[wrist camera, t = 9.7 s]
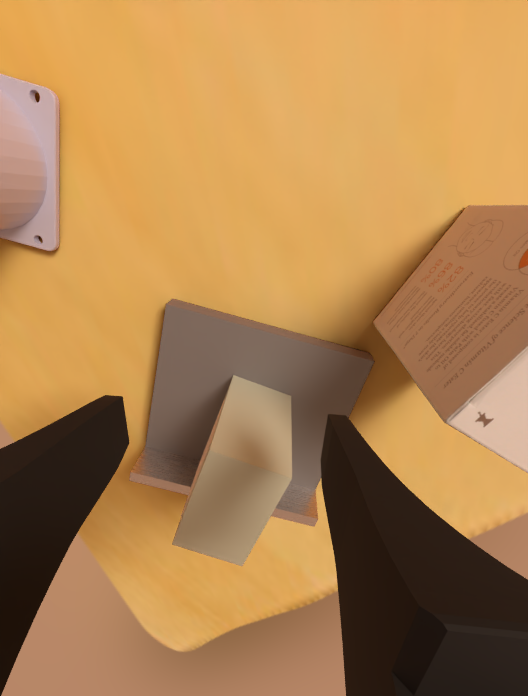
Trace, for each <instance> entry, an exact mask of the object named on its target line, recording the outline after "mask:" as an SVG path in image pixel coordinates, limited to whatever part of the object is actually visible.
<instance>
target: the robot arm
mask: <svg viewBox="0 0 528 696" xmlns="http://www.w3.org/2000/svg"><path fill="white" fill-rule="evenodd" d="M37 92H38V93H39V95H40V101H39V102H38V103H37V101H36V99H35V94H36V93H37ZM39 236H40V237H41V238H42V240H43V243H41V242H40V241H39V238H38V237H39ZM0 238H3V239H7V240H10V241H14V242H18V243H21V244H25V245H28V246H32V247H36V248H39V249H43V250H46V251H53V250H56V249H57V248H58V247H59V99H58V97H57V95H56V94H55V93H54V92H53V91H52V90H50V89H48V88H46V87H43V86H39V85H36V84H33V83H29V82H26V81H23V80H19V79H16V78H13V77H9V76H6V75H3V74H0ZM128 445H129V437H128V430H127V423H126V417H125V410H124V403H123V397H121V396H109V395H105V396H103V397H101V398H99V399H97V400H95V401H93V402H91V403H89V404H87V405H85V406H83V407H81V408H80V409H78V410H76V411H74V412H72V413H70V414H69V415H67V416H65V417H63V418H61V419H59V420H57V421H56V422H54V423H52V424H50V425H48V426H46V427H44V428H42V429H40V430H38V431H36V432H34V433H32V434H30V435H28V436H26V437H24V438H22V439H20V440H18V441H16V442H14V443H12V444H10V445H8V446H6V447H4V448H1V449H0V696H1V694H2V692H3V690H4V687H5V685H6V682H7V679H8V677H9V675H10V673H11V670H12V668H13V665H14V663H15V661H16V658H17V656H18V653H19V651H20V649H21V647H22V645H23V642H24V640H25V638H26V636H27V633H28V631H29V629H30V627H31V625H32V622H33V620H34V618H35V616H36V614H37V611H38V609H39V607H40V605H41V603H42V601H43V598H44V597H45V595H46V593H47V590H48V588H49V586H50V584H51V582H52V580H53V578H54V576H55V573H56V572H57V570H58V568H59V566H60V564H61V562H62V560H63V558H64V556H65V554H66V552H67V550H68V548H69V546H70V544H71V543H72V541H73V539H74V537H75V536H76V534H77V532H78V531H79V529H80V527H81V526H82V524H83V523H84V521H85V519H86V518H87V516H88V515H89V513H90V512H91V510H92V508H93V507H94V505H95V504H96V502H97V501H98V499H99V497H100V496H101V494H102V493H103V491H104V490H105V488H106V486H107V485H108V483H109V482H110V480H111V478H112V477H113V475H114V474H115V472H116V470H117V469H118V466H119V464H120V462H121V460H122V458H123V456H124V454H125V451H126V449H127V447H128ZM320 461H321V478H322V489H323V495H324V501H325V507H326V512H327V517H328V523H329V528H330V534H331V539H332V545H333V550H334V556H335V563H336V571H337V582H338V593H339V604H340V616H341V628H342V641H343V655H344V671H345V684H346V696H528V580H527V579H526V578H524V577H523V576H521V575H519V574H518V573H516V572H515V571H513V570H511V569H510V568H508V567H507V566H505V565H504V564H502V563H501V562H499V561H498V560H497V559H495V558H494V557H492V556H491V555H489V554H488V553H486V552H485V551H484V550H482V549H481V548H479V547H478V546H477V545H475V544H474V543H473V542H471V541H470V540H468V539H467V538H466V537H464V536H463V535H462V534H460V533H459V532H458V531H457V530H455V529H454V528H453V527H452V526H450V525H449V524H448V523H447V522H445V521H444V520H443V519H442V518H440V517H439V516H438V515H437V514H436V513H434V512H433V511H432V510H431V509H430V508H429V507H427V506H426V505H425V504H424V503H423V502H422V501H421V500H420V499H419V498H418V497H417V496H415V495H414V494H413V493H412V492H411V491H410V490H409V489H408V488H407V487H406V486H405V485H404V484H403V483H402V482H401V481H400V480H399V479H398V478H397V477H396V476H395V475H394V474H393V473H392V472H391V471H390V469H389V468H388V467H387V466H386V465H385V464H384V463H383V462H382V460H381V459H380V458H379V457H378V456H377V454H376V453H375V452H374V451H373V450H372V448H371V447H370V446H369V445H368V443H367V442H366V441H365V440H364V438H363V437H362V436H361V434H360V433H359V432H358V431H357V429H356V428H355V427H354V425H353V424H352V422H351V421H350V420H349V419H348V417H347V416H346V415H336V414H328V417H327V423H326V429H325V435H324V441H323V447H322V453H321V459H320Z"/></svg>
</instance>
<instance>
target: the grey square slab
mask: <svg viewBox="0 0 528 696" xmlns="http://www.w3.org/2000/svg"><path fill="white" fill-rule="evenodd" d="M374 362H375V361H374V360H373V358H372V356H371V354H370V353H368V352H364V351H360V350H357V349H353V348H350V347H346V346H342V345H339V344H335V343H331V342H328V341H324V340H321V339H317V338H313V337H310V336H306V335H302V334H299V333H295V332H292V331H288V330H284V329H281V328H277V327H274V326H270V325H266V324H263V323H259V322H255V321H252V320H248V319H245V318H241V317H237V316H234V315H230V314H226V313H223V312H219V311H216V310H212V309H208V308H205V307H201V306H198V305H194V304H190V303H187V302H183V301H179V300H176V299H172V300H170V301H169V302H168V303H167V304H166V309H165V316H164V322H163V329H162V336H161V343H160V350H159V357H158V364H157V370H156V377H155V384H154V391H153V398H152V405H151V412H150V419H149V425H148V432H147V439H146V446H145V448H144V450H143V451H142V453H141V455H140V457H139V458H138V460H137V462H136V463H135V465H134V467H133V468H132V470H131V472H130V480H129V481H133V482H137V483H141V484H145V485H149V486H153V487H157V488H161V489H165V490H169V491H173V492H177V493H181V494H185V495H189V492H190V489H191V486H192V483H193V480H194V477H195V474H196V471H197V468H198V465H199V463H200V460H201V457H202V455H203V452H204V449H205V447H206V444H207V442H208V439H209V437H210V434H211V431H212V429H213V426H214V424H215V421H216V419H217V416H218V413H219V411H220V408H221V406H222V403H223V401H224V398H225V395H226V393H227V390H228V388H229V385H230V383H231V380H232V377H233V375H235V376H238V377H240V378H243V379H246V380H249V381H251V382H254V383H257V384H260V385H262V386H265V387H268V388H271V389H273V390H276V391H279V392H282V393H284V394H287V395H290V396H291V426H292V480H291V481H290V483H289V485H288V487H287V488H286V490H285V492H284V494H283V495H282V497H281V499H280V501H279V502H278V504H277V506H276V508H275V509H274V511H273V513H272V515H271V516H273V517H277V518H281V519H285V520H289V521H294V522H298V523H302V524H306V525H310V526H315V524H316V522H317V520H318V513H317V502H316V491H315V489H316V487H317V485H318V483H319V481H320V479H321V461H320V459H321V453H322V447H323V441H324V435H325V429H326V423H327V417H328V414H336V415H346V416H347V417H348V418H349V416H350V414H351V411H352V409H353V407H354V405H355V403H356V401H357V398H358V396H359V394H360V392H361V390H362V388H363V385H364V383H365V381H366V379H367V377H368V375H369V372H370V370H371V368H372V366H373V364H374Z"/></svg>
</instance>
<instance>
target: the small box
mask: <svg viewBox="0 0 528 696" xmlns="http://www.w3.org/2000/svg"><path fill="white" fill-rule="evenodd" d="M373 324H374V326H375V327H376V329H377V330H378V331H379V333H380V334H381V335H382V337H383V338H384V339H385V341H386V342H387V344H388V345H389V346H390V348H391V349H392V350H393V352H394V353H395V354H396V356H397V357H398V359H399V360H400V361H401V363H402V364H403V366H404V367H405V369H406V370H407V371H408V373H409V374H410V376H411V377H412V378H413V380H414V381H415V383H416V384H417V386H418V387H419V389H420V390H421V391H422V393H423V394H424V395H425V397H426V398H427V400H428V401H429V402H430V404H431V405H432V406H433V408H434V409H435V411H436V412H437V413H438V415H439V416H440V418H441V419H442V420H443V421H444V422H445V423H446V424H448V425H450V426H451V427H453V428H455V429H456V430H458V431H460V432H461V433H463V434H465V435H466V436H468V437H469V438H471V439H473V440H474V441H476V442H478V443H479V444H481V445H483V446H484V447H486V448H488V449H489V450H491V451H493V452H494V453H496V454H497V455H499V456H501V457H502V458H504V459H506V460H507V461H509V462H511V463H512V464H514V465H515V466H517V467H519V468H520V469H522V470H524V471H525V472H527V473H528V205H469V206H467V207H466V208H465V209H464V211H463V212H462V213H461V215H460V216H459V217H458V218H457V220H456V221H455V222H454V223H453V225H452V226H451V227H450V228H449V229H448V231H447V232H446V233H445V234H444V236H443V237H442V238H441V239H440V240H439V242H438V243H437V244H436V245H435V246H434V248H433V249H432V250H431V251H430V253H429V254H428V255H427V256H426V258H425V259H424V260H423V261H422V263H421V264H420V265H419V266H418V267H417V269H416V270H415V271H414V272H413V274H412V275H411V276H410V277H409V278H408V280H407V281H406V282H405V283H404V285H403V286H402V287H401V288H400V289H399V291H398V292H397V293H396V294H395V296H394V297H393V298H392V299H391V301H390V302H389V303H388V304H387V305H386V307H385V308H384V309H383V310H382V312H381V313H380V314H379V315H378V316H377V318H376V319H375V320H374V321H373Z"/></svg>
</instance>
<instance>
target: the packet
mask: <svg viewBox="0 0 528 696" xmlns="http://www.w3.org/2000/svg"><path fill="white" fill-rule="evenodd" d="M291 480H292V426H291V396H290V395H287V394H284V393H282V392H279V391H276V390H273V389H271V388H268V387H265V386H262V385H260V384H257V383H254V382H251V381H249V380H246V379H243V378H240V377H238V376H235V375H233V377H232V380H231V383H230V385H229V388H228V390H227V393H226V395H225V398H224V401H223V403H222V406H221V408H220V411H219V413H218V416H217V419H216V421H215V424H214V426H213V429H212V431H211V434H210V437H209V439H208V442H207V444H206V447H205V449H204V452H203V455H202V457H201V460H200V463H199V465H198V468H197V471H196V474H195V477H194V480H193V483H192V486H191V489H190V492H189V495H188V497H187V500H186V503H185V506H184V509H183V512H182V515H181V519H180V522H179V525H178V528H177V531H176V534H175V537H174V540H173V543H172V545H176V546H179V547H182V548H185V549H188V550H192V551H195V552H198V553H201V554H204V555H208V556H211V557H214V558H217V559H220V560H224V561H227V562H230V563H233V564H237V565H240V566H243V564H244V562H245V561H246V559H247V557H248V555H249V554H250V552H251V550H252V548H253V547H254V545H255V543H256V541H257V539H258V538H259V536H260V534H261V532H262V531H263V529H264V527H265V525H266V524H267V522H268V520H269V518H270V517H271V515H272V513H273V511H274V509H275V508H276V506H277V504H278V502H279V501H280V499H281V497H282V495H283V494H284V492H285V490H286V488H287V487H288V485H289V483H290V481H291Z"/></svg>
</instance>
